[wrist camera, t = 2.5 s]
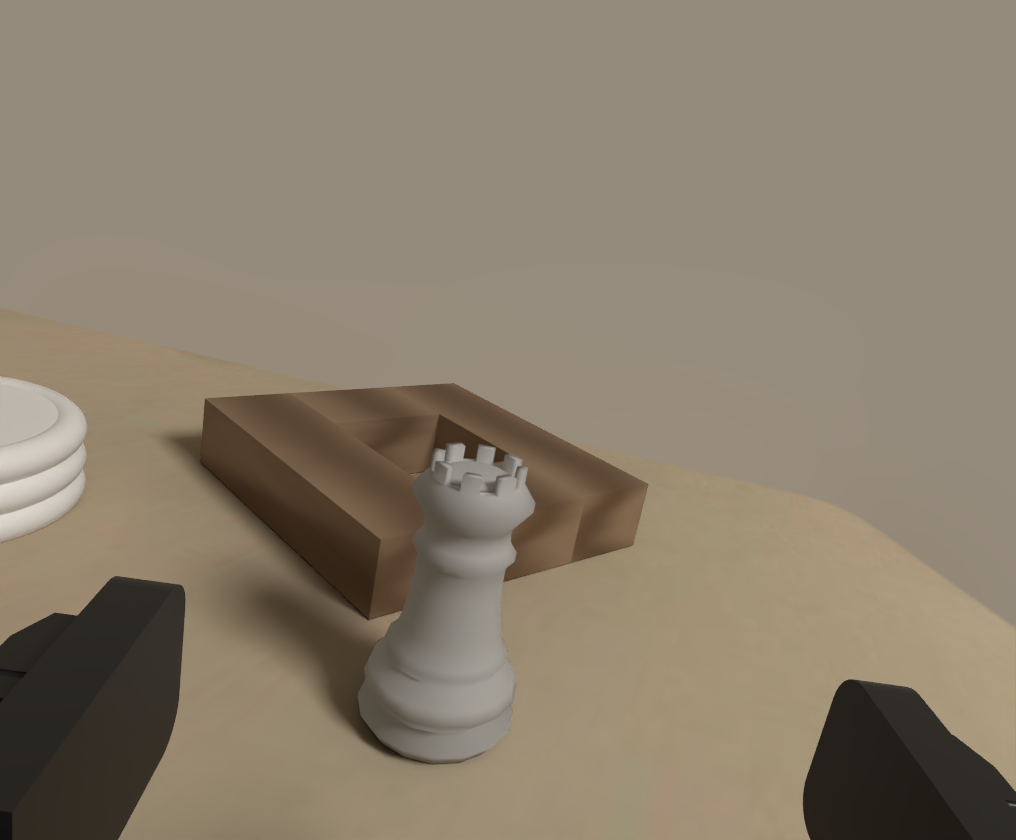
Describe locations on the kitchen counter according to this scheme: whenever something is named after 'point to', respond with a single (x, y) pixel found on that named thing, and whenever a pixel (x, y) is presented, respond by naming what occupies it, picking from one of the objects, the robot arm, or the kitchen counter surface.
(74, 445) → the coaster
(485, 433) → the socket block
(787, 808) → the kitchen counter surface
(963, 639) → the kitchen counter surface
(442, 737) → the rook chess piece
